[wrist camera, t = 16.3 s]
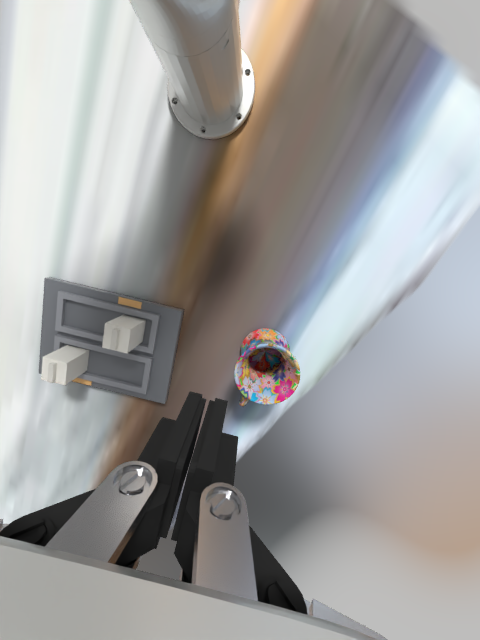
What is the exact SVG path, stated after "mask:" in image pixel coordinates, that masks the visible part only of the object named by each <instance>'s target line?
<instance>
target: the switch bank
mask: <svg viewBox="0 0 480 640" xmlns="http://www.w3.org/2000/svg"><path fill="white" fill-rule="evenodd" d="M183 314H184V309H179V308H175V307H171V306H167V305H163V304H159V303H155V302H151V301H147V300H142V299H138V298H134V297H130V296H126V295H122V294H118V293H114V292H110V291H105V290H101V289H97V288H93V287H89V286H85V285H81V284H77V283H73V282H68V281H64V280H60V279H56V278H52V277H49V278H45V282H44V298H43V314H42V330H41V346H40V362H39V373H40V374H42V358H43V356H46V355H48V354H50V353H52V352H54V351H56V350H58V349H60V348H62V347H64V346H66V345H71V346H75V347H79V348H83V349H87V350H89V358H88V367H87V371H85V372H84V373H82V374H81V375H80V376H78V377H77V378H75V379H74V380H72V381H73V382H77V383H81V384H85V385H89V386H93V387H97V388H101V389H105V390H109V391H114V392H118V393H122V394H126V395H130V396H134V397H138V398H142V399H146V400H150V401H155V402H159V403H163V404H165V403H166V401H167V398H168V393H169V388H170V383H171V377H172V372H173V367H174V362H175V356H176V351H177V346H178V341H179V335H180V330H181V325H182V320H183ZM121 315H127V316H131V317H135V318H140V319H144V320H146V324H145V330H144V336H143V342H142V343H140V344H139V345H138V346H136V347H135V348H134V349H132V350H131V351H130V352H129V353H123V352H119V351H115V350H111V349H106V348H102V344H103V336H104V327H105V323H106V322H108V321H111V320H113V319H115V318H117V317H119V316H121Z"/></svg>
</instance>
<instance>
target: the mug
mask: <svg viewBox="0 0 480 640" xmlns="http://www.w3.org/2000/svg"><path fill="white" fill-rule="evenodd" d="M234 378H235V382H236V385H237V387H238V389H239V391H240V392H241V393H242V395H241V398H240V401H239V404H240V405H241V406H245V405H246V404H247V403H248V401H249V400H251V401H253V402H255V403H258V404H264V405H271V404H277V403H280V402H282V401H284V400H286V399H287V398H289V397H290V396H291V395H292V394H293V393H294V391H295V390H296V388H297V386H298V384H299V380H300V368H299V365H298V362H297V360H296V359H295V357H294V356H293V355H292V354H291V353H290V350H289V345H288V342H287V340H286V339H285V338H284V336H283V335H282V334H280V333H279V332H277V331H275V330H272V329H266V328H264V329H258V330H255V331H253V332H251V333H250V334H249V335H248V336H247V337H246V338H245V339H244V341H243V343H242V346H241V356H240V357H239V359H238V361H237V363H236V366H235V370H234Z"/></svg>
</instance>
